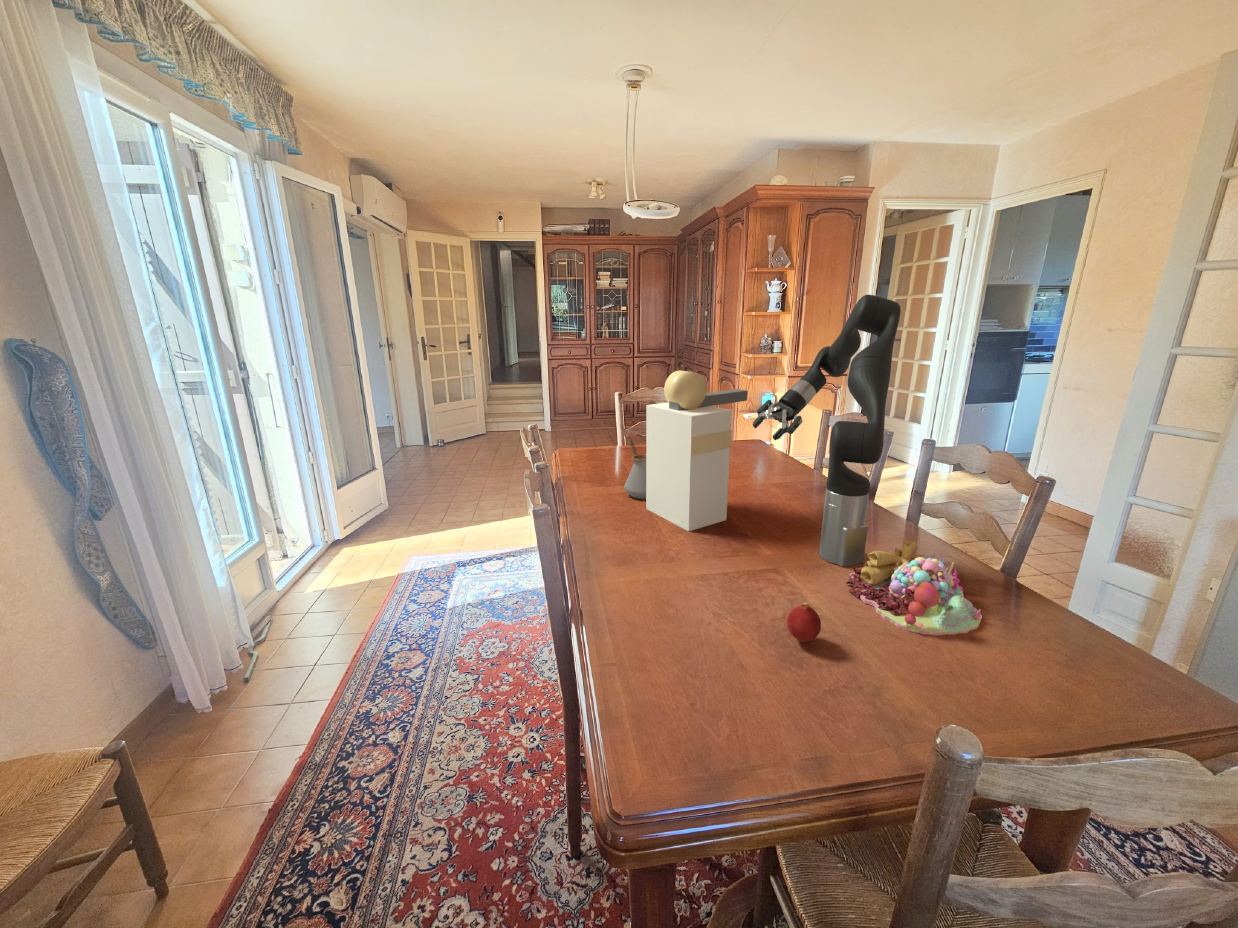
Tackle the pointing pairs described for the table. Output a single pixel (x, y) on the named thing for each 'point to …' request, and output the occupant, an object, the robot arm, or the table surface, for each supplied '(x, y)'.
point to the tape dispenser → (696, 392)
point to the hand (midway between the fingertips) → (763, 432)
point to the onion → (804, 623)
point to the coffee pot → (637, 476)
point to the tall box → (688, 464)
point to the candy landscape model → (914, 592)
